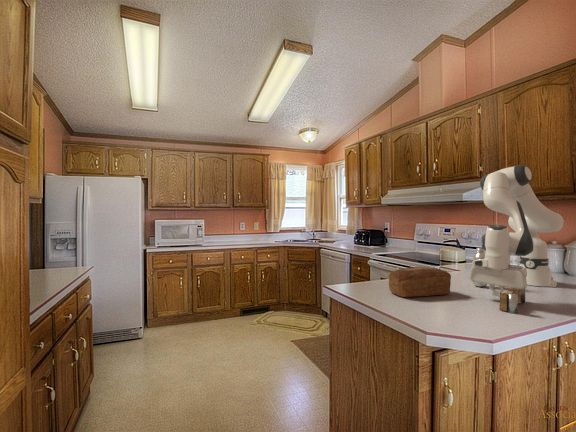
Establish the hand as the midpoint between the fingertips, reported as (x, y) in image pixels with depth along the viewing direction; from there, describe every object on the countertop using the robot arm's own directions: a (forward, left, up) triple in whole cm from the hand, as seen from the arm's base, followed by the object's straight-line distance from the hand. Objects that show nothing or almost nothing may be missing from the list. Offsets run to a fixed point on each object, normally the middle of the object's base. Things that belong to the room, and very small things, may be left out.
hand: (496, 295), depth 130 cm
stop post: (+10, +9, -3) cm, 14 cm away
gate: (+2, +6, -3) cm, 7 cm away
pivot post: (-9, +5, -3) cm, 11 cm away
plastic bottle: (-25, -17, -3) cm, 30 cm away
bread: (+14, -27, -3) cm, 30 cm away
